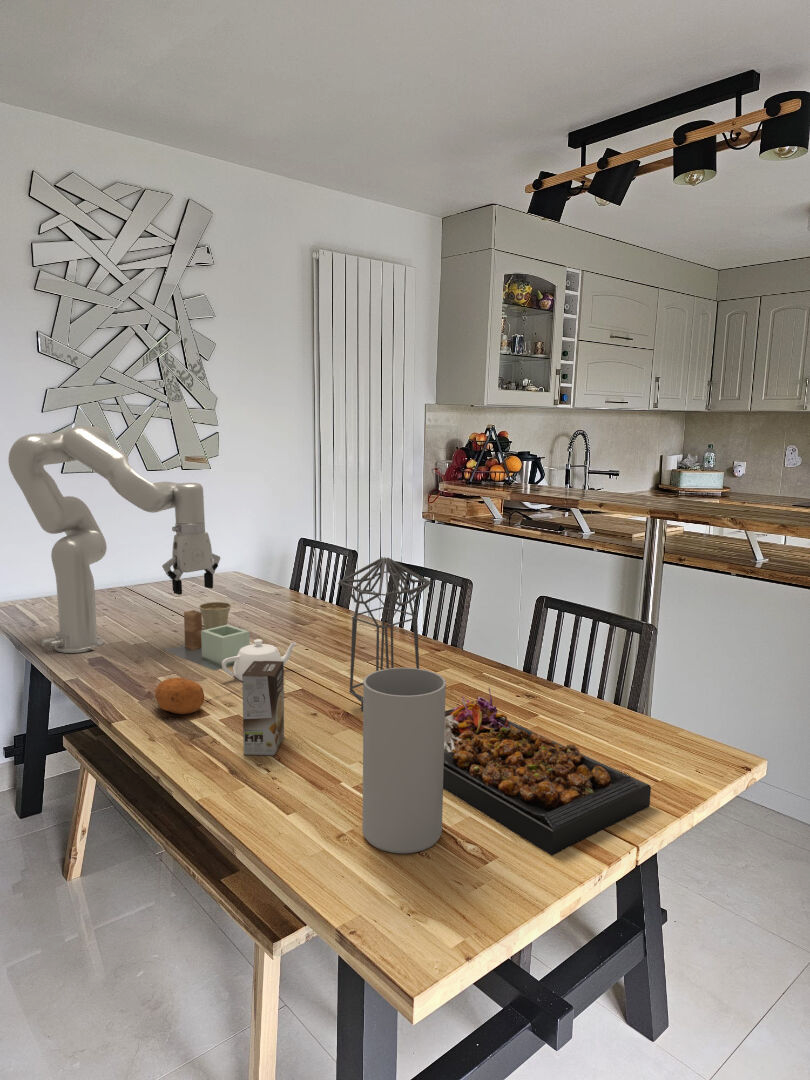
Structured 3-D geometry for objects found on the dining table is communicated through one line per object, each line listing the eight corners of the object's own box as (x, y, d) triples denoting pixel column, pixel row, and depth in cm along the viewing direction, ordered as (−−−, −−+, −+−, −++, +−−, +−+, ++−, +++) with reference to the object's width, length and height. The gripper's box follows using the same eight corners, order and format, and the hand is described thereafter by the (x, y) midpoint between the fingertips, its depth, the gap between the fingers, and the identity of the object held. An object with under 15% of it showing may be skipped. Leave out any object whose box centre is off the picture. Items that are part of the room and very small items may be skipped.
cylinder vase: (349, 845, 113) (349, 689, 109) (380, 806, 124) (382, 663, 120) (426, 863, 109) (430, 701, 104) (451, 821, 120) (456, 674, 116)
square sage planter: (223, 667, 189) (222, 638, 188) (202, 659, 195) (201, 630, 194) (249, 659, 195) (249, 631, 194) (228, 652, 201) (228, 624, 200)
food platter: (378, 751, 146) (379, 702, 145) (470, 722, 161) (472, 677, 159) (551, 859, 111) (554, 795, 109) (649, 809, 126) (653, 752, 124)
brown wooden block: (193, 650, 202) (192, 614, 201) (185, 647, 205) (183, 612, 203) (202, 647, 205) (201, 612, 203) (194, 644, 207) (193, 610, 206)
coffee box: (275, 756, 142) (274, 676, 140) (242, 755, 142) (241, 675, 140) (285, 736, 151) (284, 660, 149) (253, 735, 152) (252, 659, 149)
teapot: (285, 665, 195) (285, 627, 193) (308, 678, 185) (308, 639, 183) (212, 679, 183) (211, 639, 182) (232, 694, 173) (231, 653, 172)
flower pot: (236, 629, 226) (235, 602, 225) (225, 638, 217) (225, 610, 215) (206, 628, 227) (205, 601, 226) (194, 637, 218) (193, 608, 216)
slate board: (214, 674, 187) (214, 670, 187) (163, 653, 202) (163, 649, 202) (259, 661, 197) (259, 657, 197) (207, 642, 213) (207, 639, 213)
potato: (169, 723, 156) (168, 689, 155) (147, 708, 165) (145, 675, 163) (209, 712, 163) (208, 680, 161) (186, 698, 171) (185, 667, 170)
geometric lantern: (433, 710, 166) (436, 558, 159) (381, 732, 155) (382, 569, 148) (385, 690, 177) (386, 547, 170) (334, 709, 166) (332, 557, 159)
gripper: (169, 533, 191) (172, 598, 193) (225, 526, 203) (228, 587, 206) (154, 531, 196) (157, 594, 198) (210, 524, 208) (212, 583, 211)
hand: (193, 590), depth 202 cm, fingers open, 9 cm apart
